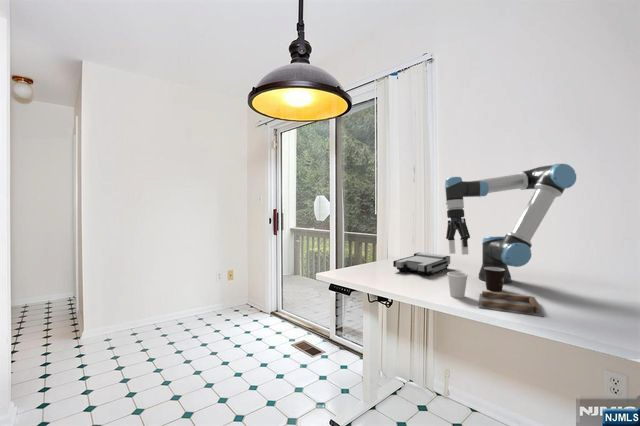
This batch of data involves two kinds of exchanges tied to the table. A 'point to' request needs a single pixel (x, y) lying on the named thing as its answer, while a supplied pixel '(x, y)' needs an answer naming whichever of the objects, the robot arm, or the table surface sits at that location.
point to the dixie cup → (457, 284)
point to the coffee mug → (494, 278)
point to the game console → (423, 263)
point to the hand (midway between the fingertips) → (458, 254)
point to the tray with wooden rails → (510, 303)
